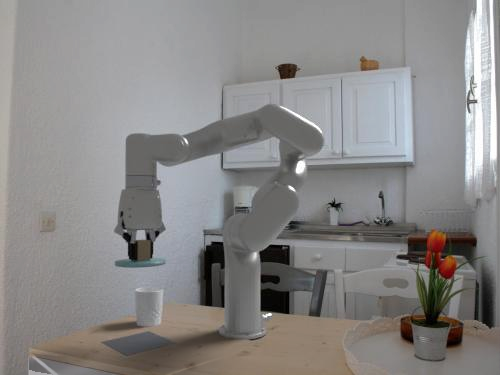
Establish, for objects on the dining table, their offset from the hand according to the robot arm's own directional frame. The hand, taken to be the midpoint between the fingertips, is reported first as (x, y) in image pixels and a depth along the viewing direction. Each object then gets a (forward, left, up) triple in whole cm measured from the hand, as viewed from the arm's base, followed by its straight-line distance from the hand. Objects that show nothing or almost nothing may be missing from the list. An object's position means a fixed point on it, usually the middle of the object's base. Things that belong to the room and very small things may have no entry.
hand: (140, 258), depth 102 cm
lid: (0, 0, -1) cm, 1 cm away
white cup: (-10, -14, -21) cm, 27 cm away
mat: (0, 0, -21) cm, 21 cm away
